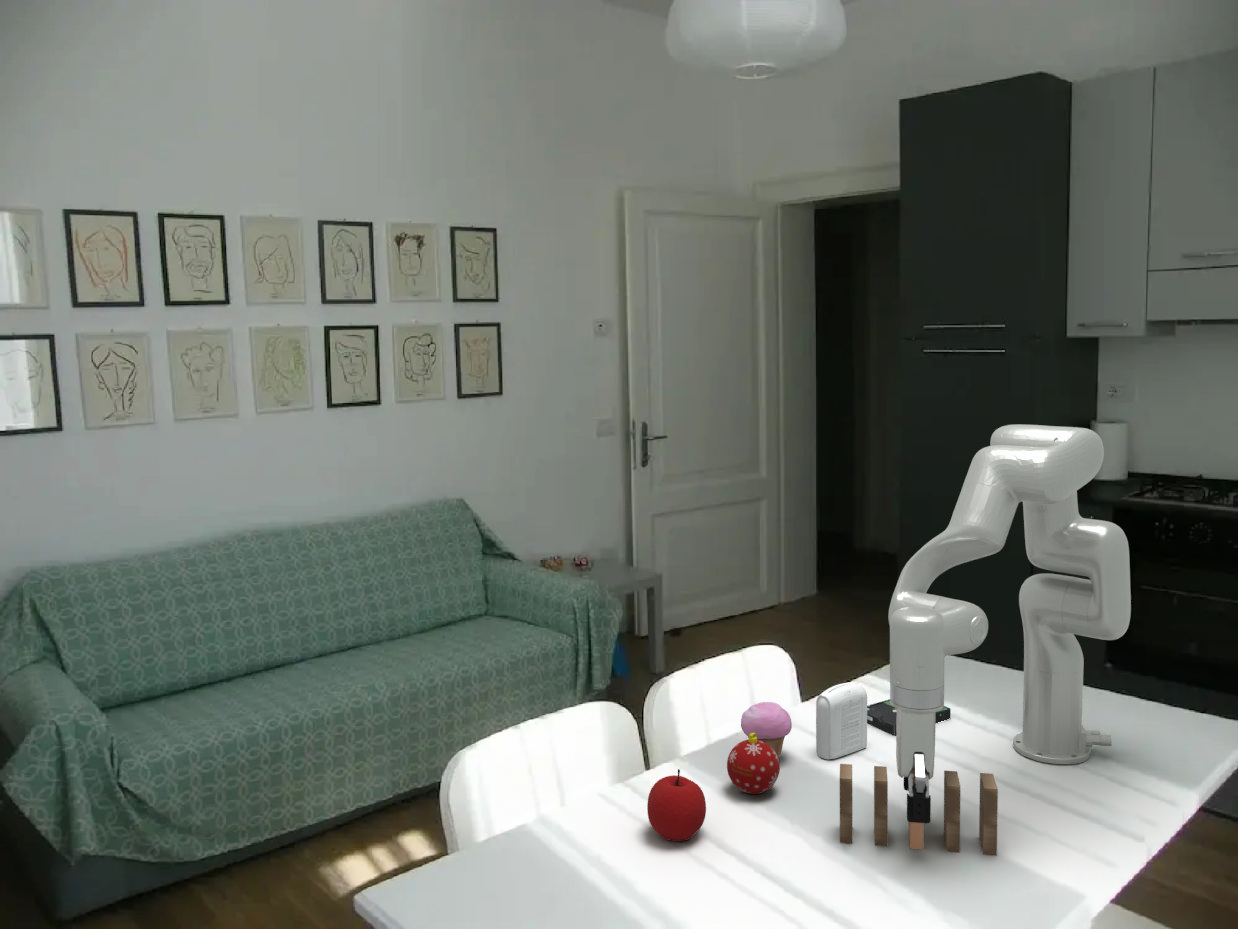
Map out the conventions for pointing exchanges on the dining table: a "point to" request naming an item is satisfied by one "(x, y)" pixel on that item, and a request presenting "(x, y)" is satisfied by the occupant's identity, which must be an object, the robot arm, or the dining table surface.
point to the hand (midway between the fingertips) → (916, 805)
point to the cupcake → (767, 724)
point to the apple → (676, 808)
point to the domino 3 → (916, 832)
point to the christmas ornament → (753, 766)
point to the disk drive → (894, 716)
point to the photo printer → (841, 720)
